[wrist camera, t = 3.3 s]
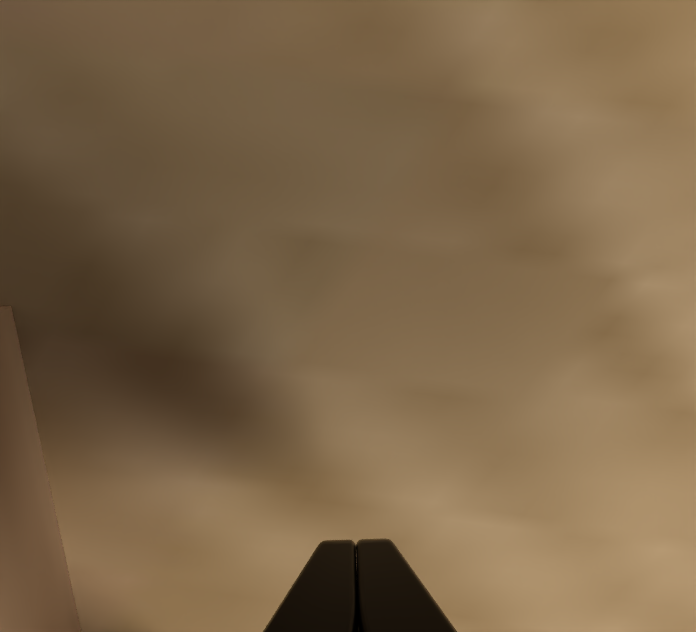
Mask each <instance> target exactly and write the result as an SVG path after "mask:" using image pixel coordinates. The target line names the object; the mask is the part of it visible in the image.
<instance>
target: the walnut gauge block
mask: <svg viewBox="0 0 696 632" xmlns="http://www.w3.org/2000/svg"><path fill="white" fill-rule="evenodd" d="M0 632H81V628H80V623H79V619H78V614H77V609H76V605H75V600H74V595H73V591H72V586H71V581H70V577H69V572H68V567H67V563H66V558H65V553H64V549H63V544H62V539H61V535H60V530H59V526H58V521H57V516H56V512H55V507H54V502H53V498H52V493H51V488H50V484H49V479H48V474H47V470H46V465H45V460H44V456H43V451H42V446H41V442H40V437H39V432H38V428H37V423H36V419H35V414H34V409H33V405H32V400H31V395H30V391H29V386H28V381H27V377H26V372H25V367H24V363H23V358H22V353H21V349H20V344H19V339H18V335H17V330H16V325H15V321H14V316H13V312H12V307H11V306H0Z"/></svg>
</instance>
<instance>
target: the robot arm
mask: <svg viewBox="0 0 696 632" xmlns="http://www.w3.org/2000/svg"><path fill="white" fill-rule="evenodd" d="M356 561H357V568H356ZM263 632H457V631H456V630H455V628H454V627H453V625H452V624H451V623H450V621H449V620H448V618H447V617H446V616H445V614H444V613H443V612H442V610H441V609H440V607H439V606H438V605H437V603H436V602H435V600H434V599H433V598H432V596H431V595H430V593H429V592H428V591H427V589H426V588H425V586H424V585H423V584H422V582H421V581H420V579H419V578H418V577H417V575H416V574H415V572H414V571H413V570H412V568H411V567H410V565H409V564H408V563H407V561H406V560H405V558H404V557H403V556H402V554H401V553H400V552H399V550H398V549H397V547H396V546H395V545H394V543H393V542H392V541H391V540H389V539H362V540H359V541H358V542H357V544H356V545H355V543H354V542H353V541H352V540H326V541H322V542H321V543H320V544H319V545H318V547H317V548H316V550H315V551H314V553H313V554H312V556H311V557H310V559H309V561H308V562H307V564H306V565H305V567H304V568H303V570H302V572H301V573H300V575H299V576H298V578H297V579H296V581H295V582H294V584H293V586H292V587H291V589H290V590H289V592H288V593H287V595H286V597H285V598H284V600H283V601H282V603H281V604H280V606H279V607H278V609H277V611H276V612H275V614H274V615H273V617H272V618H271V620H270V622H269V623H268V625H267V626H266V628H265V629H264V631H263Z"/></svg>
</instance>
